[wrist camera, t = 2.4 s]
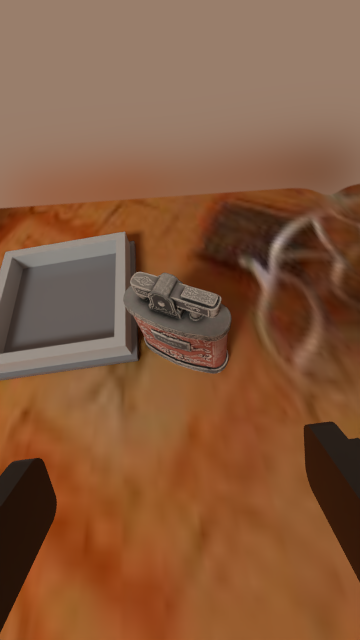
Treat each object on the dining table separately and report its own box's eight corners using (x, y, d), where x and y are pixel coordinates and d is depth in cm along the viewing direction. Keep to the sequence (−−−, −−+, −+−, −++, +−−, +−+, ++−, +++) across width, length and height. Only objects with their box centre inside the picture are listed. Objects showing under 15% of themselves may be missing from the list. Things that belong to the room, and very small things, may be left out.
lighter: (140, 349, 26) (101, 288, 18) (155, 320, 28) (126, 250, 19) (220, 381, 24) (221, 328, 15) (233, 347, 25) (240, 281, 17)
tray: (135, 243, 33) (129, 227, 31) (138, 360, 26) (131, 350, 24) (16, 263, 34) (2, 249, 32) (-15, 382, 27) (-35, 374, 24)
